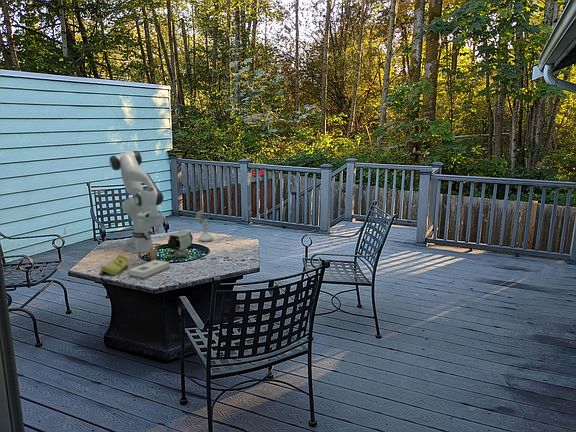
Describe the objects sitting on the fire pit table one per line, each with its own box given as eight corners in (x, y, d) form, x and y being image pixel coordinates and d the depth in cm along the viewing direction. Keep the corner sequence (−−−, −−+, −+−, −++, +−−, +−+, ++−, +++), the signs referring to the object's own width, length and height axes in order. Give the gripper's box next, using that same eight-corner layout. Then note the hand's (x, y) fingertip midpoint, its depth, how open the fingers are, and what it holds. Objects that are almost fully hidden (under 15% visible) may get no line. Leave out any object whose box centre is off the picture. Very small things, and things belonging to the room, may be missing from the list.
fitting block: (143, 279, 253) (143, 272, 252) (129, 276, 259) (128, 269, 258) (169, 268, 273) (169, 262, 272) (155, 265, 278) (154, 259, 277)
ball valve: (178, 260, 288) (176, 234, 285) (168, 259, 292) (166, 233, 288) (195, 253, 304) (194, 229, 300) (185, 252, 308) (184, 228, 304)
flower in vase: (208, 238, 346) (207, 207, 341) (215, 240, 338) (214, 209, 332) (193, 240, 338) (192, 209, 333) (200, 243, 329) (199, 211, 324)
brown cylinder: (149, 262, 284) (148, 248, 282) (153, 261, 287) (152, 246, 285) (153, 263, 282) (152, 249, 280) (158, 261, 286) (157, 247, 284)
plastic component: (116, 272, 259) (101, 265, 259) (112, 282, 261) (97, 275, 261) (131, 260, 278) (117, 253, 278) (127, 269, 280) (114, 262, 280)
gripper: (157, 209, 288) (159, 229, 291) (134, 215, 271) (136, 236, 273) (165, 210, 286) (166, 230, 288) (142, 216, 268) (144, 237, 271)
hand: (151, 233), depth 281 cm, fingers open, 8 cm apart
